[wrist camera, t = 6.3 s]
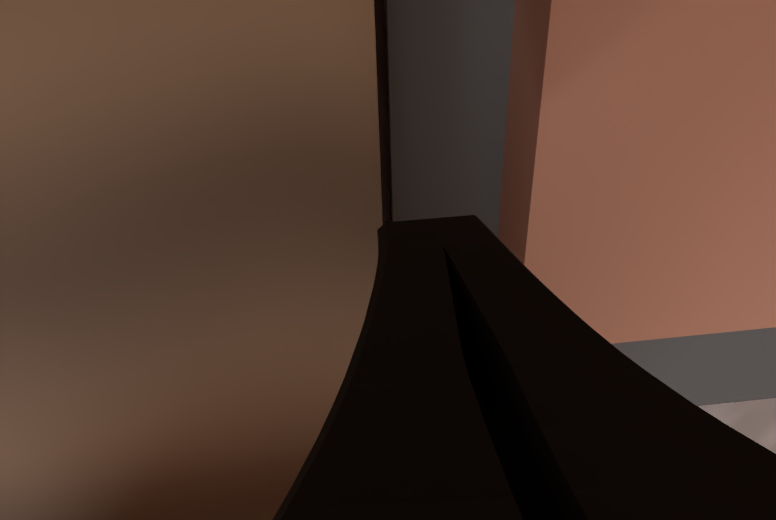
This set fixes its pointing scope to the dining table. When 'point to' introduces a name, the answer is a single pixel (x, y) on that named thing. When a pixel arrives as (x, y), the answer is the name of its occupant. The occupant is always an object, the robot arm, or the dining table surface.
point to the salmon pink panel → (645, 162)
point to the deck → (179, 248)
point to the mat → (485, 162)
